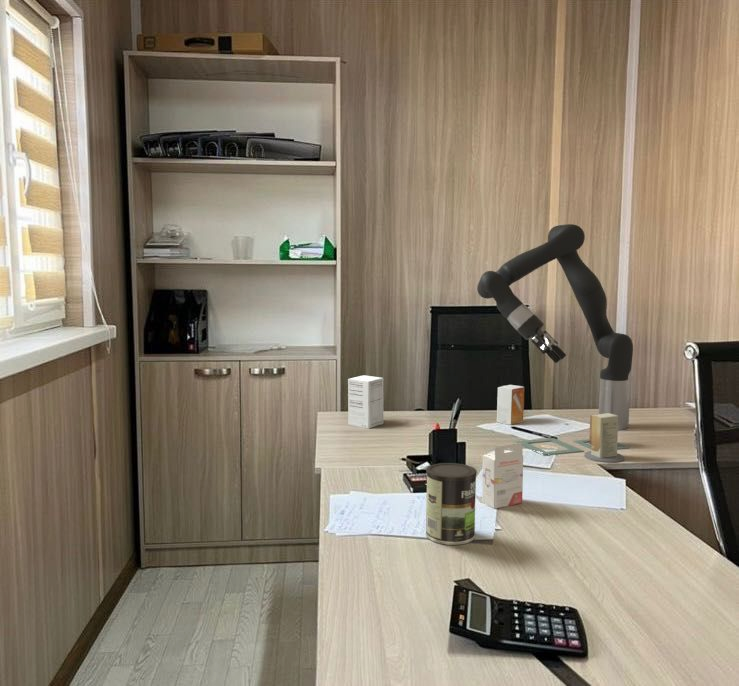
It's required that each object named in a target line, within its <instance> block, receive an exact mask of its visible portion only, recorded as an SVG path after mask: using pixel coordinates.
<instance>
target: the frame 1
mask: <svg viewBox="0 0 739 686" xmlns="http://www.w3.org/2000/svg"><path fill="white" fill-rule="evenodd" d="M549 442H550V443H551V442H552V444H553V443H554V444H556V445H559V446H561V447H563V448H566V449H559V448H557V447H556V446H552V445H551V444H549V445H548V444H547V445H540V447H543V448H545V449H551V448H552V449H556V450H548V451H546V450H544V449H542V448H540V447H537V446H535V445H533V444H537V443H539V444H540V443H549ZM516 443H522V447H525V448H526V449H529V450H530V449H532V450H531V451H533V450H535V451H540V452H543V453H542V454H543V455H547V456H549V455H548V454H555V455H564V454H566V455H567V454H573V453H574V454H575V453H585V450H584V449H582V448H578V447H576V446H574V445H571V444H569V443H567V442H564V441H562V440H559V439H557V438H554V437H550V438H549V437H548V438H539V439H538V438H537V439H527V440H516V441H515V444H516ZM558 449H559V450H558ZM535 451H534V452H535ZM543 455H542V456H543ZM555 455H554V456H555Z"/></svg>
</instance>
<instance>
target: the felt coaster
mask: <svg viewBox="0 0 739 686" xmlns="http://www.w3.org/2000/svg"><path fill="white" fill-rule="evenodd" d="M584 457H585V458H586V459H587V460H590V461H593V462H599V463H606V464H607V463H608V464H615V463H621V462H624V461H625V456H624V455H623V454H620V453H619V452H617V456H613V457H606V458H599V457H596V456H594V455H591V450H587V451H586V452H584Z"/></svg>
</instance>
